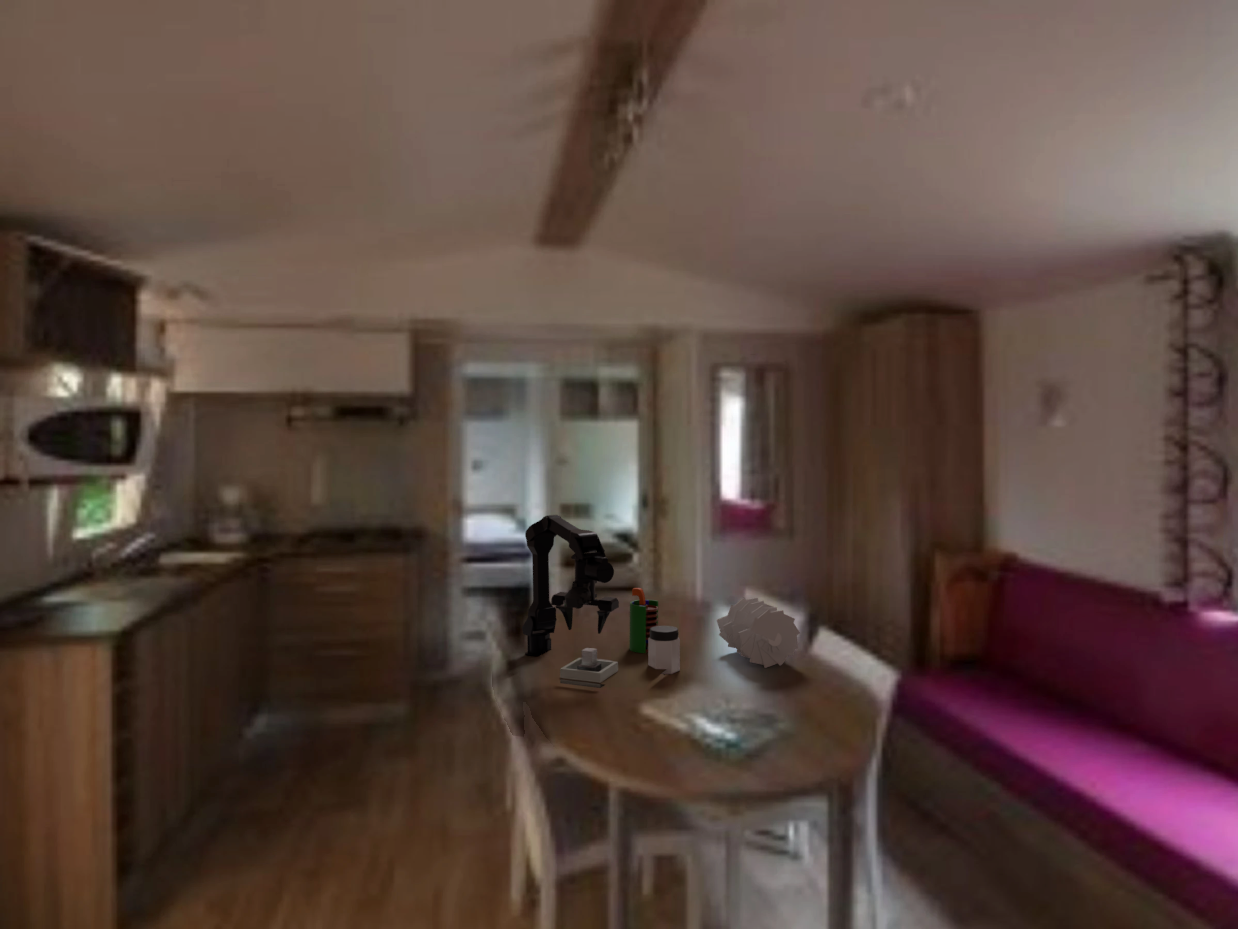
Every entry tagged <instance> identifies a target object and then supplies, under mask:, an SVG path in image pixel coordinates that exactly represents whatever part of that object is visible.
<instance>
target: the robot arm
mask: <svg viewBox="0 0 1238 929" xmlns="http://www.w3.org/2000/svg"><path fill="white" fill-rule="evenodd" d="M556 536H558V537H560V538H561V539H563V540H564V541H566V542H567V543H568V548H569V549H570V550H571V551H572V552H573V553H574V554H573V555H572V556H570V558H571V559H572V560H574V580H573V581H572V583H571V589H569V590H568V591H567V592H565V591H559V592H557V593H555V594H553V595H552V596H551V597H550V568H549V567H550V565H549V561H550V560H549V554H550V552H551V551H552V549H553V547H554V545H555V537H556ZM524 538H525V540H526V547H527V548H528V549H529V551H530V553H531V554H532V555H531V556H532V596H533V597H532V603H531V605H530V606H529V608H528V609H527V619H526V620H525V622H524V623H523V625H522V626H521V630H522V634H523V635H524V636H526V637H527V638H526V639H527V648H526V649H527V651H526V652H524V655H526V656H533V657H534V656H535V657H536V656H537V657H540V656H542V655H544V654H546V653H547V652H550V651H551V650H552V638H551V634H555V629H556V624H557V620H558V619H557V609H558V610H559V611H560V612H561V614H562V616H563V618H564V621H565V623H566V626H567V629H568V630H569V631H571V630H572V628H573V627H572V626H573V619H574V618H573V614H574V608H575V609H578V610H579V609H582V608H583V607H584V606H591V607H592V606H594V607H597V609H598V610H597V611H596V613H597V615H598V619H597V634H599V635H601V633H602V631H603V629H604V626H605V624H606V621H607V619H608V617H609V615H610V613H611V612H613V611H615V610H616V609H618V608H619V606H620V605H619V604H620V601H619V600H618V597H612V596H604V597H601V598H600V599H597V597H598V594H597V593H596V584H598V582H599V583H602V584H606V583H609V582H611V580H612V579H613V578H614V574H615V570H614V567H613V565H612V564H611V563H610V562H609V558H608V557H606V553H605V549H604V547H603V544H602V542H601V540H600V537H599V536H598V534H597V533H596V532H595V531H592V530H589V529H580V528H578V527H577V526H576V525H573V524H571V523H570V522H569V521H567V520H565V519H563V518H562V517H561V515H558V514H551V515H550V514H549V515H545V516H543V517H542V518H541V519H540V520H538V521H536V522H534V523H532V524H531V525H530V526H528V528H527V529H526V531H525V534H524Z"/></svg>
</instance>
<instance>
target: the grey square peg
mask: <svg viewBox="0 0 1238 929" xmlns="http://www.w3.org/2000/svg"><path fill="white" fill-rule="evenodd" d="M581 658H582V664H580V665H579V666H577V670H586V671H595V672H599V671H601V663H597V659H598V648H590V647H585V648H583V649H581Z"/></svg>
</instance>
